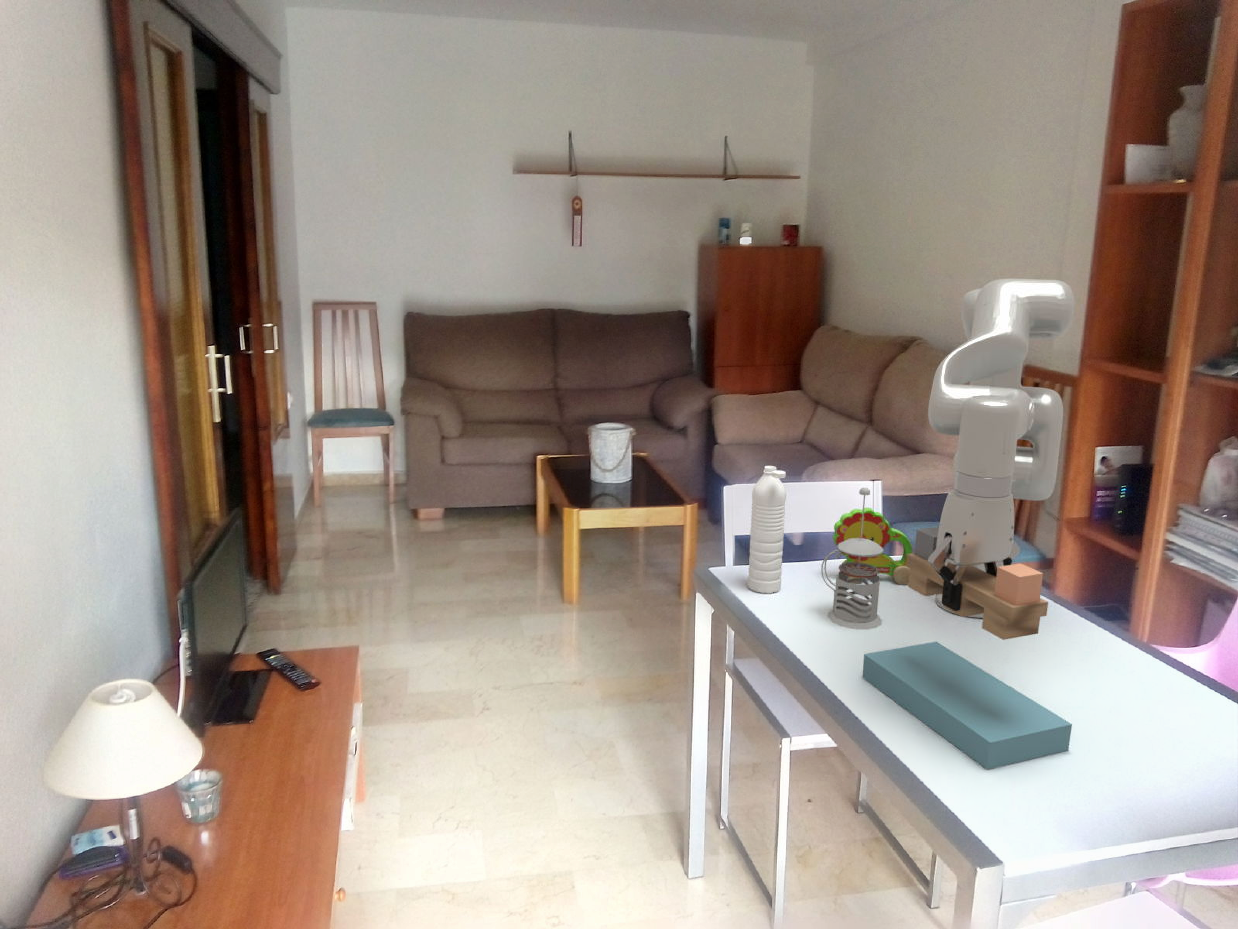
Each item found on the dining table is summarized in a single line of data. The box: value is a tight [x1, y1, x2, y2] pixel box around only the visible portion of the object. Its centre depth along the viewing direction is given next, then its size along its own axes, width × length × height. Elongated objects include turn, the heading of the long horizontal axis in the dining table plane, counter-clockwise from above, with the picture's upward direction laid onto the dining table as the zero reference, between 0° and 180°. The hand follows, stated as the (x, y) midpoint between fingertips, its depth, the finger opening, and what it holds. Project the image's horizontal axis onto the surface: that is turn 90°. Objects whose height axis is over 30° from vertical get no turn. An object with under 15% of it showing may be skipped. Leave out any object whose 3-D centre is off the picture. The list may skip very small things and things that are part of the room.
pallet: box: [906, 552, 1049, 641], centre depth 134 cm, size 6×22×5 cm, turn 21°
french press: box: [821, 487, 884, 630], centre depth 169 cm, size 10×12×25 cm
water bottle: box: [747, 465, 787, 594], centre depth 181 cm, size 9×6×25 cm
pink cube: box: [994, 563, 1044, 605], centre depth 125 cm, size 4×4×4 cm
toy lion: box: [832, 507, 913, 586], centre depth 189 cm, size 16×5×15 cm, turn 86°
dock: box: [861, 641, 1073, 770], centre depth 138 cm, size 14×28×4 cm, turn 21°
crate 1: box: [913, 526, 947, 561], centre depth 140 cm, size 4×4×4 cm
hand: (969, 603), depth 134 cm, fingers closed on pallet, 6 cm apart
